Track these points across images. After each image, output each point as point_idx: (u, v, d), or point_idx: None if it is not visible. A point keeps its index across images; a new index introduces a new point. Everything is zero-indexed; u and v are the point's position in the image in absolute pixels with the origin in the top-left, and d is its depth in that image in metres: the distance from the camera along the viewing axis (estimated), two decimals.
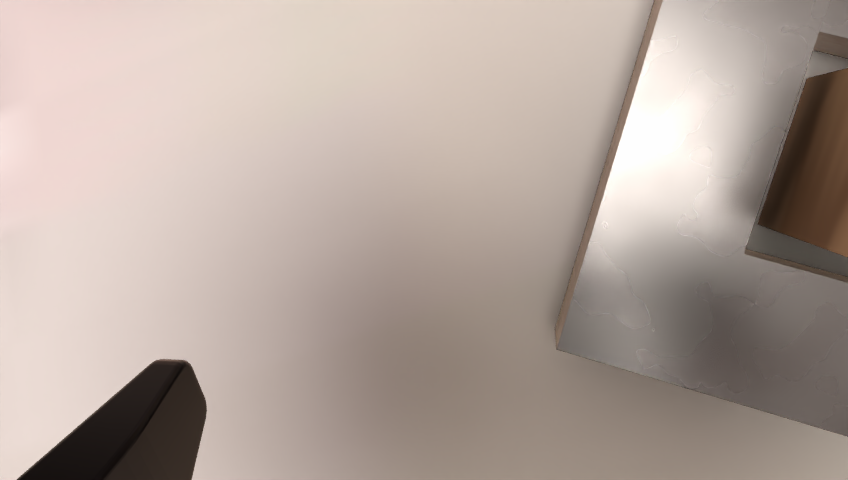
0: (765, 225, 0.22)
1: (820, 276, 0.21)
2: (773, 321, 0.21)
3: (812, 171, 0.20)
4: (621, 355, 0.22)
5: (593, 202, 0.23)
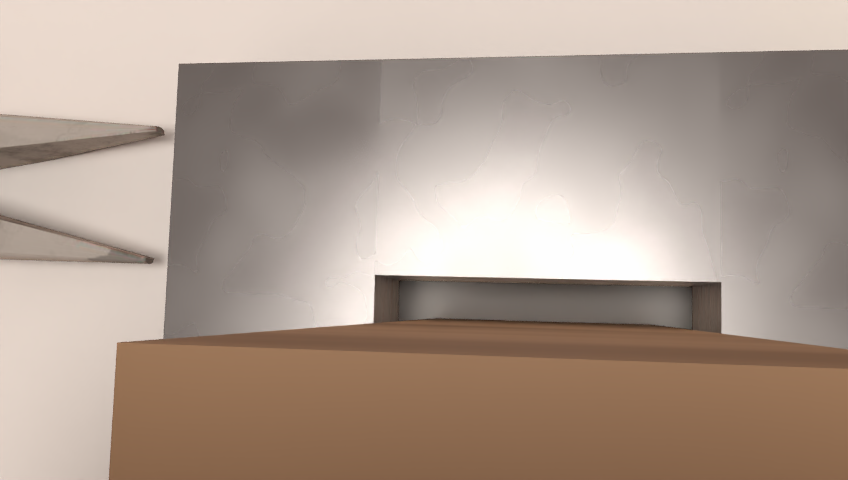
0: None
1: None
2: None
3: None
4: None
5: None
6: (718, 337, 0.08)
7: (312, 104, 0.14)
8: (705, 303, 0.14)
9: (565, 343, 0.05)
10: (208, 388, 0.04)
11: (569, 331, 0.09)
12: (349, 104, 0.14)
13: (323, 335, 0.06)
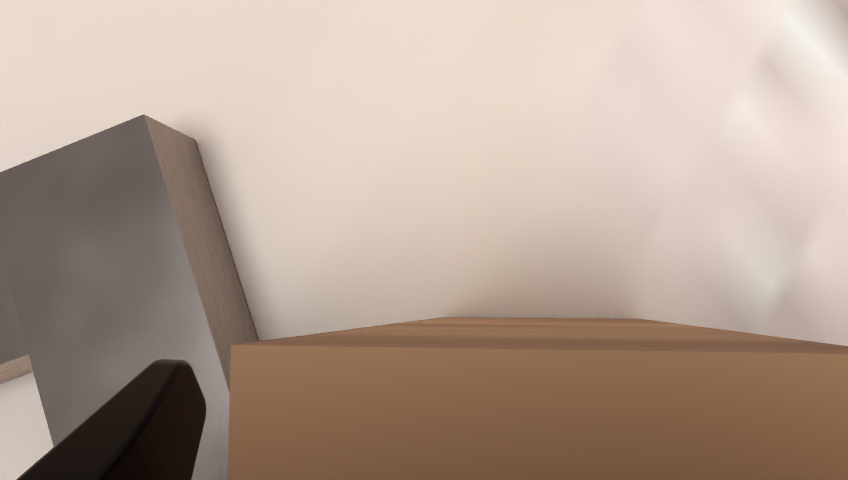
0: None
1: None
2: None
3: None
4: None
5: None
6: (691, 330, 0.09)
7: None
8: None
9: (562, 338, 0.07)
10: (301, 377, 0.05)
11: (565, 327, 0.10)
12: None
13: (369, 336, 0.07)
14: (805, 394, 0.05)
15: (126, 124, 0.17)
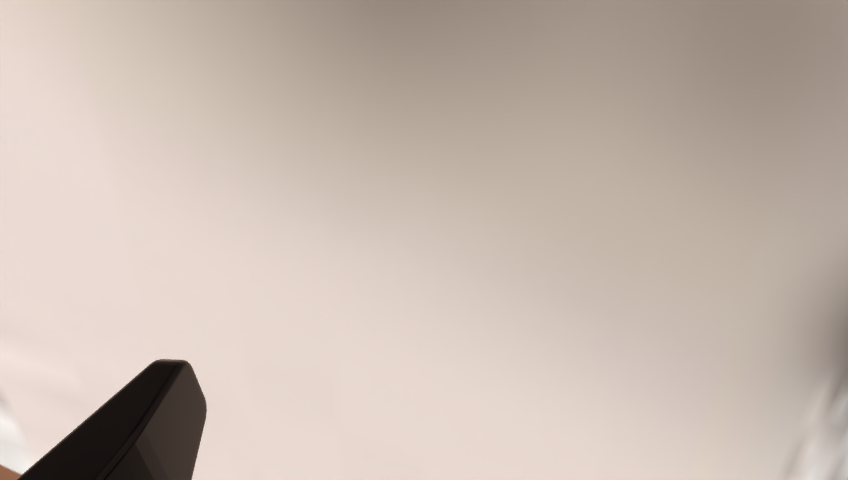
0: None
1: None
2: None
3: None
4: None
5: None
6: None
7: None
8: None
9: None
10: None
11: None
12: None
13: None
14: None
15: None
